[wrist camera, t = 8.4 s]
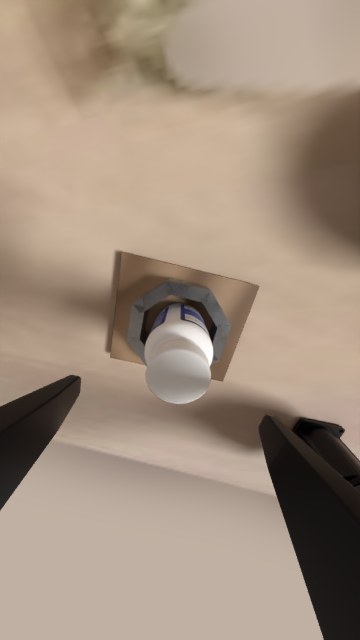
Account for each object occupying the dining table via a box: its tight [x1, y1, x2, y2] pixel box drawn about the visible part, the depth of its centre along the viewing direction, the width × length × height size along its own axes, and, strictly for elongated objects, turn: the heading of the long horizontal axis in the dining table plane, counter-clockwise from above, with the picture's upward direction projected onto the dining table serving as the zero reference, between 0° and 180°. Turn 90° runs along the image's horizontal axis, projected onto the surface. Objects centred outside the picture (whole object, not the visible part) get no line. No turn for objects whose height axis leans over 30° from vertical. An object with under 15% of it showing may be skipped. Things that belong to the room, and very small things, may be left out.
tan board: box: [110, 252, 259, 381], centre depth 19 cm, size 14×12×1 cm
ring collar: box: [127, 278, 231, 366], centre depth 17 cm, size 9×9×2 cm
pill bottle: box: [144, 303, 213, 404], centre depth 14 cm, size 5×5×9 cm
